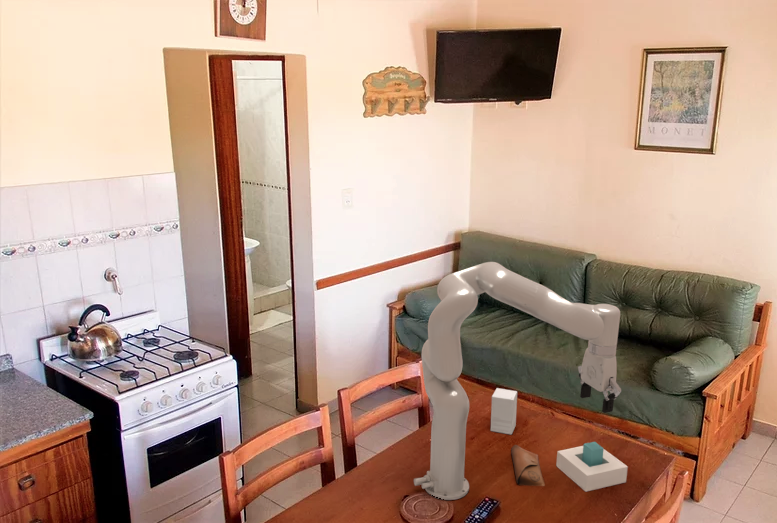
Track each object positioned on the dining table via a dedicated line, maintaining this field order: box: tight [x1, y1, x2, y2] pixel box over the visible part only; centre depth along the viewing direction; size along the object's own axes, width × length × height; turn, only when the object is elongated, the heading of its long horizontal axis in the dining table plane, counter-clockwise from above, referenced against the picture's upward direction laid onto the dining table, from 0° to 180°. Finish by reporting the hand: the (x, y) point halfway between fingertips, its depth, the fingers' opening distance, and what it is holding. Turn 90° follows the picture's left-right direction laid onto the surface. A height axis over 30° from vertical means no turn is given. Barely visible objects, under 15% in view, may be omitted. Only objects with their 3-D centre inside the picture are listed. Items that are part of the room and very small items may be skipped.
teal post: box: [582, 441, 604, 467], centre depth 187 cm, size 4×4×9 cm
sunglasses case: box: [510, 444, 546, 487], centre depth 190 cm, size 18×7×7 cm, turn 175°
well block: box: [556, 445, 629, 492], centre depth 188 cm, size 14×14×5 cm
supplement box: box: [490, 387, 518, 436], centre depth 213 cm, size 7×7×13 cm
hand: (596, 404), depth 183 cm, fingers open, 9 cm apart
